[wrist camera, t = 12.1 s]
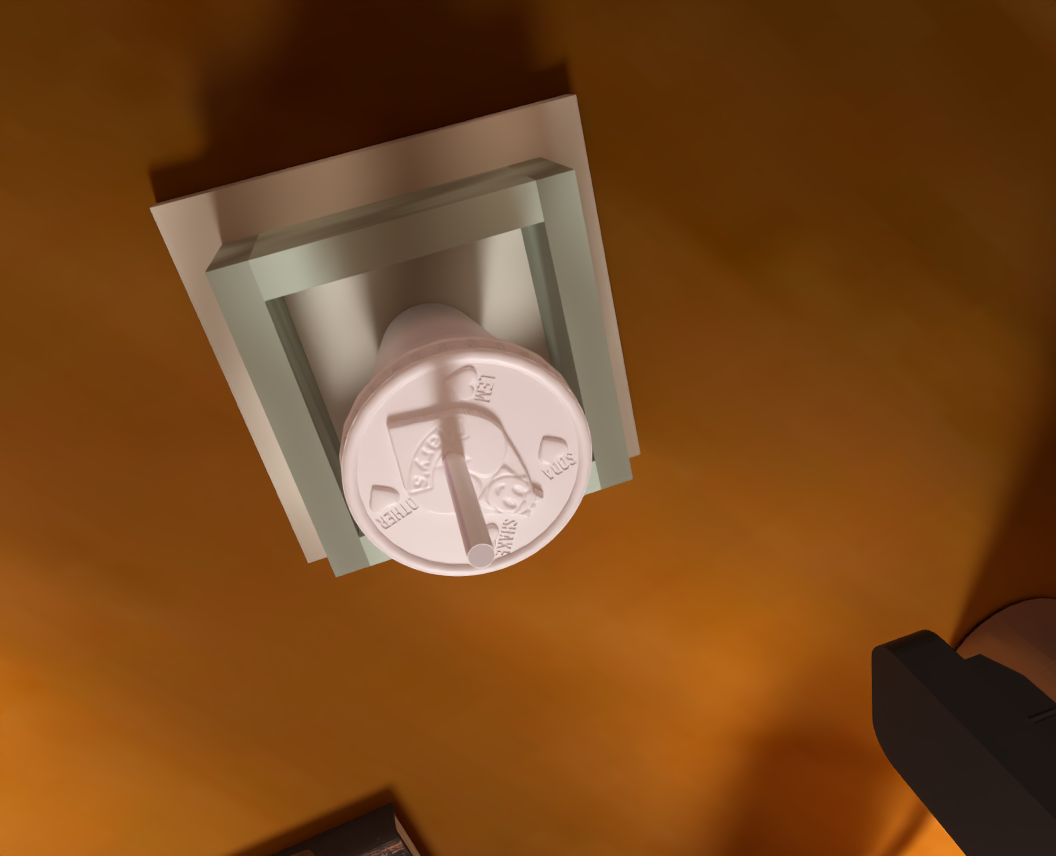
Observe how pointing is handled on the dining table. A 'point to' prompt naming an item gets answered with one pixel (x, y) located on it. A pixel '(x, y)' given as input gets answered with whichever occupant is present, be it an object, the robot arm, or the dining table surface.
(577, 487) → the smoothie
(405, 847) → the hardcover book
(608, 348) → the green glass shallow box
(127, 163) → the dining table surface
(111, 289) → the dining table surface
